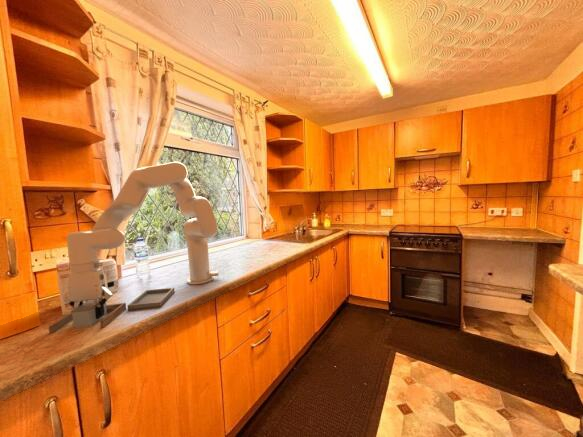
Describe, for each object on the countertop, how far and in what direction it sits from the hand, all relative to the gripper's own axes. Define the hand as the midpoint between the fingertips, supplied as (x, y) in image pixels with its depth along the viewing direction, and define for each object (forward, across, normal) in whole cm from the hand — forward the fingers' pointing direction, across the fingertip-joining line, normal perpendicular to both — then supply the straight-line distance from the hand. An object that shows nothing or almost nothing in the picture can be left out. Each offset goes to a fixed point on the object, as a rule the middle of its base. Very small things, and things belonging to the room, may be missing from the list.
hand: (91, 317), depth 83 cm
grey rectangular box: (+1, 0, 0) cm, 1 cm away
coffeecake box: (+1, +15, -14) cm, 21 cm away
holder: (+1, 0, 0) cm, 1 cm away
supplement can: (+1, +11, -29) cm, 31 cm away
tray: (+1, -15, -13) cm, 20 cm away
